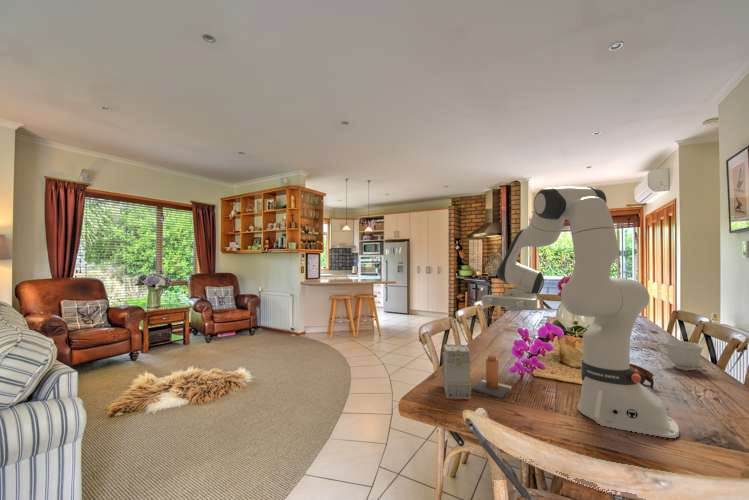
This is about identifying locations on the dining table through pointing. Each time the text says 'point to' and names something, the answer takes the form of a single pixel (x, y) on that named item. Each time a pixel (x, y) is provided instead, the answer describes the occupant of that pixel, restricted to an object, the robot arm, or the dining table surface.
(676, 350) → the teacup
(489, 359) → the lockout cap
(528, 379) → the dining table surface
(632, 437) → the dining table surface
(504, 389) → the tag pad
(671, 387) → the dining table surface
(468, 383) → the circuit breaker
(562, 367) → the dining table surface
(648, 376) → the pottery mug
